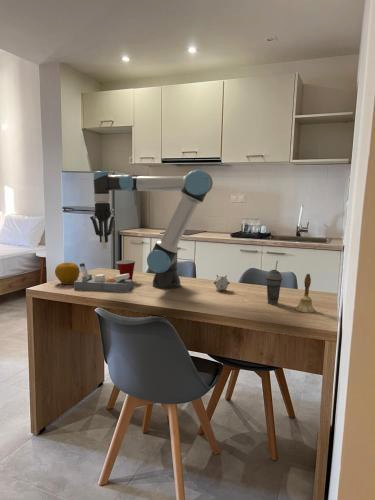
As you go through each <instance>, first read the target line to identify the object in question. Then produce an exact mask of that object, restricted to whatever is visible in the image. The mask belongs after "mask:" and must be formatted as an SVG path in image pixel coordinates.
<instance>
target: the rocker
mask: <svg viewBox="0 0 375 500" xmlns="http://www.w3.org/2000/svg"><path fill="white" fill-rule="evenodd" d="M129 277H130V276H129V273H127V274H122V275H120V274H117V275H116V276H114V278H115V280H116V281H117V280H122V279H128V278H129Z"/></svg>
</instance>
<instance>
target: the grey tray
mask: <svg viewBox="0 0 375 500" xmlns="http://www.w3.org/2000/svg"><path fill="white" fill-rule="evenodd" d="M88 275H89V276H90V279H88V280H87V277H84V276H82V277H81V278H78V279H77V281H75V282H74V284H73V290H74V291H75V290H76V291H96V292H97V291H98V292H99V291H101V292H119V293H121V292H122V293H128V292H129V291H130V290H131V289H133V279H132V280H125V279H122V280H117V281H116V280H115V282H107V278H105V281H104V282H95V277H93V275H92V273H91V274H89V273H88Z"/></svg>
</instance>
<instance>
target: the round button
mask: <svg viewBox="0 0 375 500" xmlns="http://www.w3.org/2000/svg"><path fill="white" fill-rule="evenodd" d="M106 279H107V282H115V276H114V277H113V276H110V277H107V278H106Z"/></svg>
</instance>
